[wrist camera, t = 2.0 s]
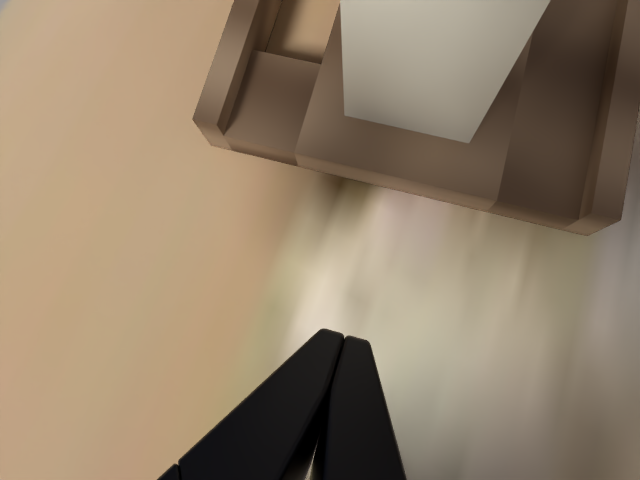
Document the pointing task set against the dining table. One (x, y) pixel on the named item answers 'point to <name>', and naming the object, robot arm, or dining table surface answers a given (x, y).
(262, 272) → the dining table surface
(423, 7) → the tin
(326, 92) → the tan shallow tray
